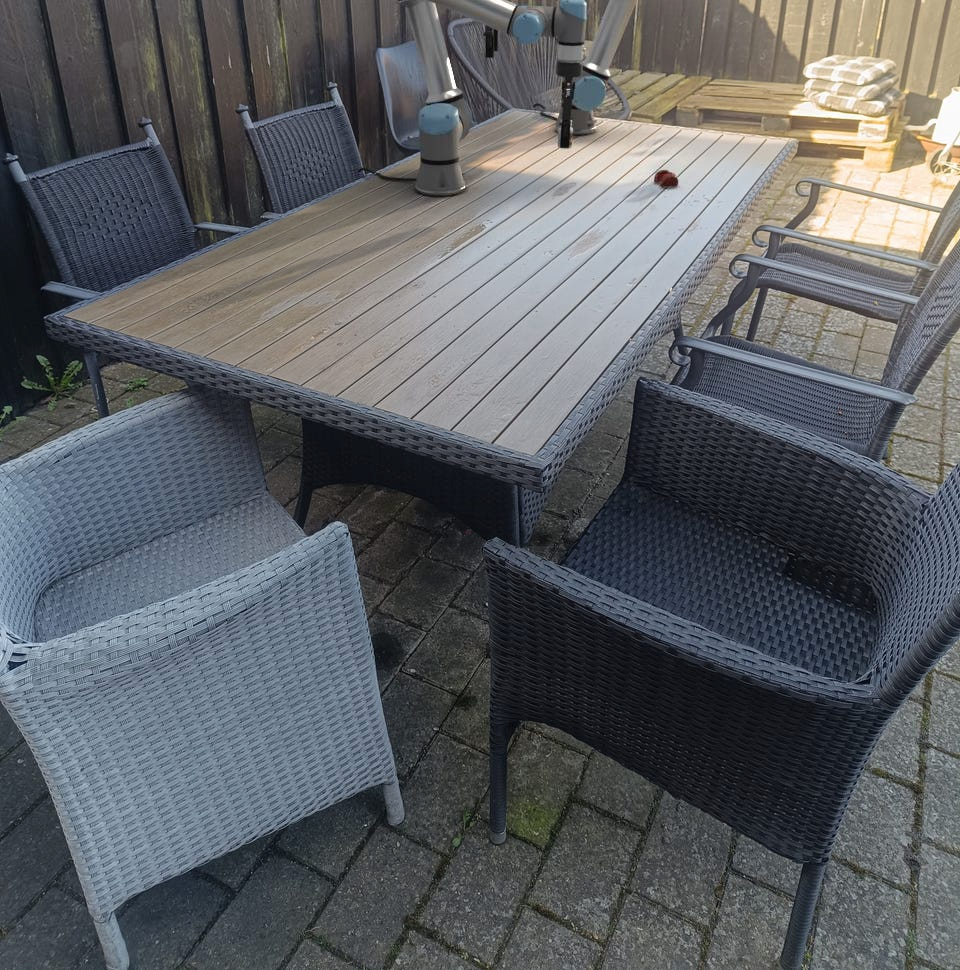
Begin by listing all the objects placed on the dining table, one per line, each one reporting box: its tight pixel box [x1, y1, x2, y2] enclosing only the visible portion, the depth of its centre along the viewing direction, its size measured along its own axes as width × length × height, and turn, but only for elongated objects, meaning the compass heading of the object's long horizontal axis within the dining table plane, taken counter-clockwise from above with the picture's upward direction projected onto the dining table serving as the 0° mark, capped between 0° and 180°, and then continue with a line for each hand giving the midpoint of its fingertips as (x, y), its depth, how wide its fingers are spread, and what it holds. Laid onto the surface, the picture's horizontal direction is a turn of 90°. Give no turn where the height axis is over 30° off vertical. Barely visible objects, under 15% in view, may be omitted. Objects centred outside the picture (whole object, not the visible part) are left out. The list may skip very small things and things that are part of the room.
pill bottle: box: [557, 120, 574, 150], centre depth 254 cm, size 4×4×8 cm
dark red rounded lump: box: [653, 169, 679, 188], centre depth 261 cm, size 6×4×8 cm
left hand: (564, 145), depth 256 cm, fingers closed on pill bottle, 4 cm apart
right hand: (491, 54), depth 289 cm, fingers open, 13 cm apart
